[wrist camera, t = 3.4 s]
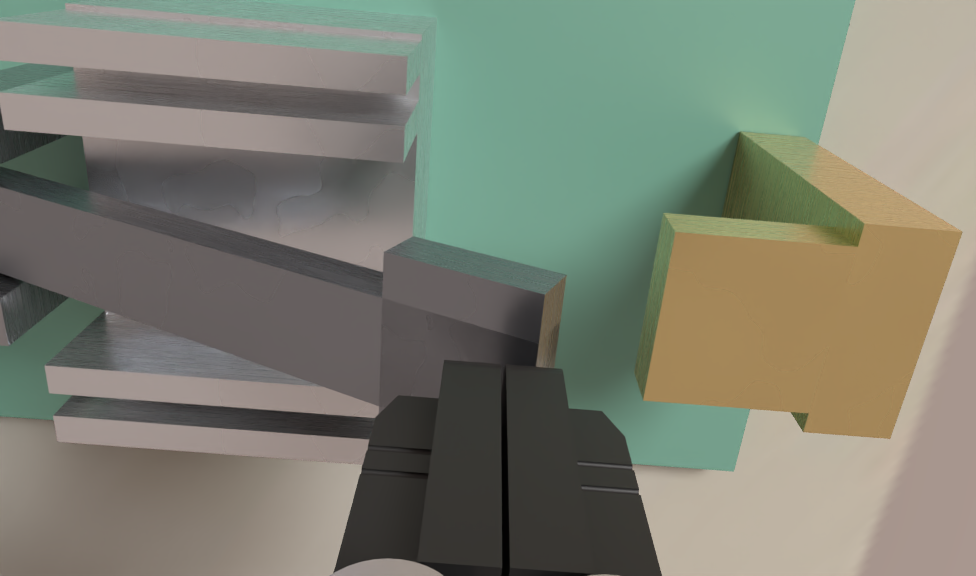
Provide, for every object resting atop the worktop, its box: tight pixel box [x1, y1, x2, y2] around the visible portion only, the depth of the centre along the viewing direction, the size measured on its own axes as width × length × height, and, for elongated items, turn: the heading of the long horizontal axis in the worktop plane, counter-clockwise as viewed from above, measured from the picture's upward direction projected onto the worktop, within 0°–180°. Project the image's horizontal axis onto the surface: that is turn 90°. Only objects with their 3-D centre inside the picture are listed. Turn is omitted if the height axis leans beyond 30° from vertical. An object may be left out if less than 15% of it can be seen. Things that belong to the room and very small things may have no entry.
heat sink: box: [0, 0, 437, 465], centre depth 16 cm, size 8×10×6 cm
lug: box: [634, 131, 962, 439], centre depth 16 cm, size 4×5×7 cm
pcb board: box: [0, 0, 855, 471], centre depth 20 cm, size 16×24×1 cm, turn 85°
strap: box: [0, 166, 567, 413], centre depth 13 cm, size 3×12×1 cm, turn 85°
